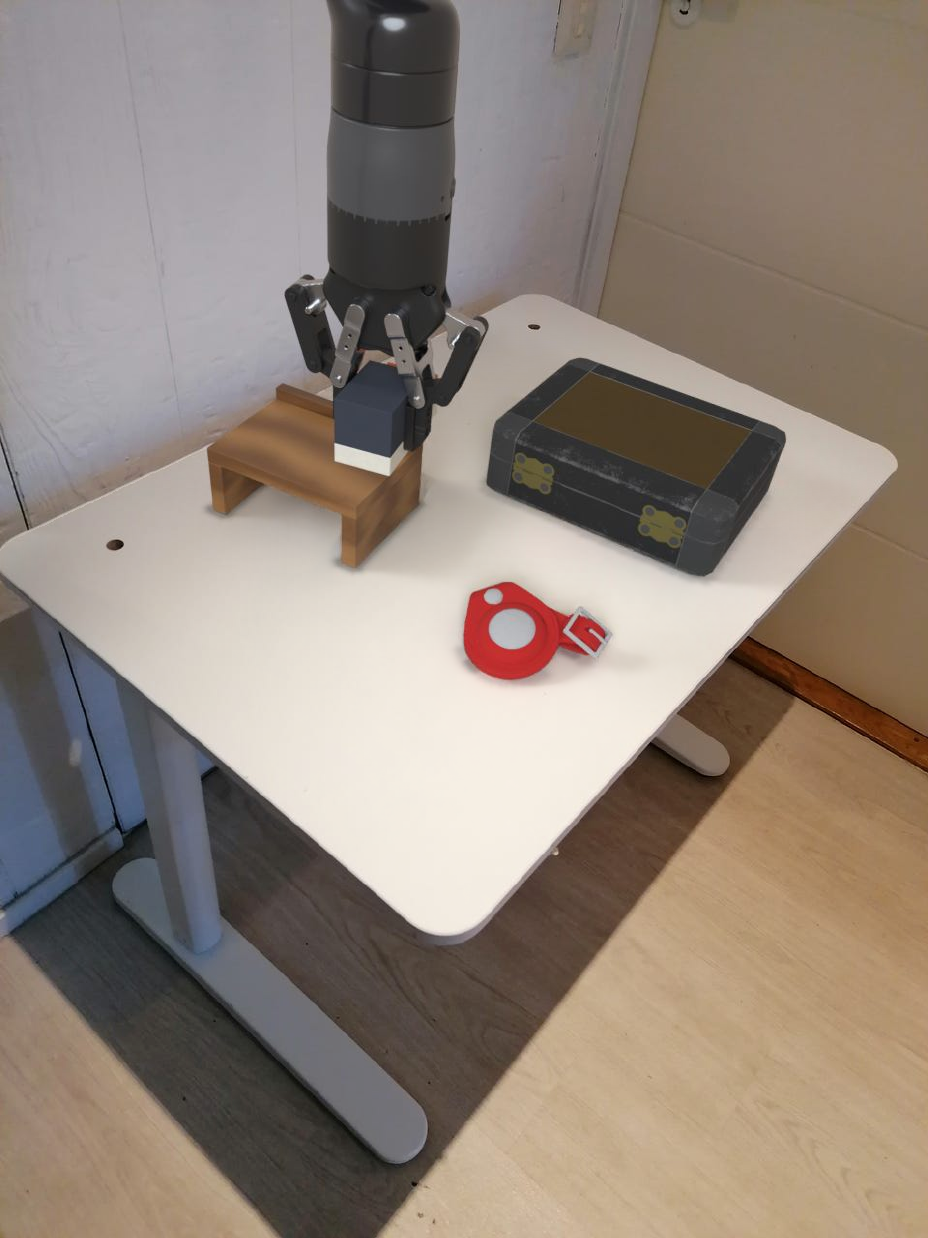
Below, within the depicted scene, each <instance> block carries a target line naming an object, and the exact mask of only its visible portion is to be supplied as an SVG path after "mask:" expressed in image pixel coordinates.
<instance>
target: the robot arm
mask: <svg viewBox="0 0 928 1238" xmlns="http://www.w3.org/2000/svg"><path fill="white" fill-rule="evenodd" d="M325 3H326V7H327V12H328V17H329V21H330V115H329V125H328V132H327V141H326V143H327V144H326V239H327V240H326V241H327V242H326V243H327V245H326V247H327V255H326V256H327V263H328V266H329V267H328V271H327V273H326V274H325V276H324V278H317V279H316V278H315V277H314V276H313V275H312V274H310V273H309V274H308V273H307V274H303V275H302V276H301V277H300V278H299V279H297V280H296V281H295V282H293V283H292V284H291V285H290V286H289V287H287V288H286V289H285V291H284V294H283V295H284V299H285V302H286V306H287V310H288V313H289V315H290V318H291V319H290V320H291V322H292V325H293V328H294V331H295V335H296V339H297V340H298V344H299V348H300V351H301V354H302V357H303V360H304V363H305V366H306V369H307V370H308V371H309V372H311V373H312V374H319V373H321V374H322V375H324V376H326V378H328V379H329V381H330V383H331V385H332V401H333V418H334V398H335V397H336V396H337V395H338V394H339V393H340V392H341V391H342V390H343V388H344V387H345V386H346V385H347V384H348V383H349V382H350V381H351V380H352V379H353V378H354V377H355V376H356V374H357V373H358V372H359V371H360V370H361V366H362V364H363V360H364V357H365V354H366V352H367V351H380V352H382V353H383V354H385V355H387V356H389V357H392V358H394V363H395V364H396V366H397V370H398V374H399V376H400V377H402V378H403V380H404V384H405V389H406V393H407V397H408V401H409V402H408V404H407V405H406V406H405V424H404V441H403V442H404V443H403V449H404V450H407V451H411V452H414V451H415V449H416V448H417V447H418V446H421V445H422V444H423V445H424V442H425V441H426V440H427V439H428V437H429V435H430V433H431V432H432V421H433V419H432V408H433V404H437V405H438V406H439V407H441V408H445V407H447V406H449V405H450V404H451V403H452V401H453V399H454V397H455V396H456V394H457V393H458V392H459V391H460V390H461V388H462V387H463V384H464V383H465V381H466V379H467V377H468V374H469V372H470V369H471V367H472V366H473V364H474V361H475V359H476V357H477V355H478V352H479V351H480V348H481V346H482V344H483V342H484V339H485V337H486V335H487V333H488V331H489V329H490V324H489V322H488V320H487V319H486V318H485V316H482V315H477V316H474V317H473V318H470V317H469V316H467V315H465V314H463V313H462V312H460V311H458V310H456V309H454V308H453V307H452V300H451V298H450V295H449V293H448V289H447V273H448V262H449V250H450V237H451V224H452V223H451V222H452V212H453V199H454V198H455V193H456V181H457V180H456V177H455V171H456V137H455V114H456V113H455V112H456V103H457V100H456V99H457V86H458V76H459V75H458V74H459V60H460V45H461V44H460V41H461V24H460V23H461V22H460V16H459V12H458V8H457V7H456V5H455V4H454V3H453V1H452V0H325ZM327 305H329V307H330V308H331V310H332V311H333V313H334V315H335V316H336V318H337V320H338V322H339V323H340V325H341V326H342V329H341V332H340V336H339V339H338V341H337V346H336V344H335V341H334V338H333V337H334V336H333V334H332V330H331V327H330V323H329V320H328V316H327V313H326V310H325V309H326V308H327ZM441 326H443V327H444V329H445V330H446V334H447V335H446V343H447V348H448V349H449V350H451V351H452V352H451V355H450V357H449V358H448V361H447V363H446V366H445V368H444V370H443V372H442V375H441V377H438V378H436V377H435V374H436V372H435V368H434V363H433V360H434V348H433V344H432V343H433V342H432V339H431V336H433V334H434V333H435V332H436V331H437V330H438V329H439V328H440V327H441ZM431 419H432V420H431Z"/></svg>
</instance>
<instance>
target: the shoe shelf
mask: <svg viewBox="0 0 928 1238" xmlns="http://www.w3.org/2000/svg"><path fill="white" fill-rule="evenodd" d="M423 452H424V443H423V444H422V445H421V446H418V447H417V448H416V449H415V451H414V452H411V451H408V452H407V453H406V455H405V456H404V458H403V459H402V460H401V462H400V463H399V464H398V466H397V467H396V468H395V470H394V471H393V472H392V474H391V475H390V476H386V475H383V474H379V473H375V472H372V471H368V470H365V469H361V468H357V467H354V466H350V465H347V464H343V463H339V462H336V461H335V443H334V418H333V400H331V399H328V398H325V397H323V396H320V395H318V394H317V395H316V394H314V393H311V392H310V391H309V392H308V391H306V390H303V389H301V388H298V387H296V386H292V385H289V384H287V383H284V382H282V383H280V384H279V385H277V386H276V387H275V399H273V400H272V401H270V402H269V403H267V405H265V406H263V407H262V408H260V410H258V411H257V412H255V413H254V414H252V415H251V416H250V417H248V418H247V419H245V420H243V421H242V422H241V423H240V424H238V425H237V426H235V427H234V428H232V429H231V430H230V431H228V432H226V433H225V434H224V435H222V436H221V437H219V438H218V439H217V440H215V441H214V442H213V443H212V444H210V445H208V446H207V447H206V455H207V463H208V464H207V465H208V473H209V474H208V475H209V482H210V492H211V493H210V494H211V502H212V503H211V504H212V511H215V512H218V513H220V514H223V515H227V514H228V513H230V512H231V511H232V510H234V508H236V507H237V506H238V505H240V504H241V503H242V502H243V501H245V500H246V499H247V498H249V496H251V495H252V494H253V493H255V492H257V490H258V489H259V488H261V487H262V486H264V485H266V486H269V487H272V488H274V489H276V490H279V491H281V492H284V493H287V494H289V495H292V496H294V497H297V498H300V499H302V500H304V501H307V502H309V503H311V504H314V505H317V506H319V507H322V508H324V509H327V510H329V511H332V512H334V513H337V514H339V515H341V560H340V561H341V564H343V565H345V566H347V567H350V568H352V569H357V567H358V566H359V565H360V564H361V563H363V561H364V560H365V559H366V558H367V557H368V556H369V555H371V554H372V552H373V551H374V550H375V549H376V548H378V546H379V545H381V543H382V542H383V541H384V540H385V539H386V538H387V537H388V536H389V535H390V534H391V533H392V532H393V531H394V530H395V529H396V528H397V527H398V526H399V525H400V524H401V523H402V522H403V521H404V520H405V519H406V518H407V517H408V516H409V515H410V514H411V513H412V512H413V511H414V510H415V509H416V508H417V507H419V505H420V495H421V479H422V469H423V468H422V467H423Z"/></svg>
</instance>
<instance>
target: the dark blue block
mask: <svg viewBox="0 0 928 1238" xmlns="http://www.w3.org/2000/svg"><path fill="white" fill-rule="evenodd" d="M435 377H436V378H439V375H438V374H437V373H435ZM408 402H409V401H408V397H407V393H406V389H405V384H404V380H403V378H402V377H400V376H399V374H398V370H397V366H396V363H394V362H390V361H388V362H387V363H383V362H378V361H375V360H372V359H369V360H368V361H367V362H366V363H365V365H364V366H363V367H362V368H360V369H359V371H358V372H357V374H356V376H355V377H354V378H353V379H352V380H351V381H350V382H349V383H348V384H347V385H346V386H345V387H344V388H343V390H342V391H341V392H340V393H339V394H338V395H337V396H336V397H335V398H334V443H335V461H336V462H339V463H343V464H347V465H350V466H354V467H357V468H361V469H365V470H368V471H372V472H375V473H379V474H383V475H386V476H390V475H391V474H392V472H393V471H394V470H395V468H396V467H397V466H398V464H399V463H400V462H401V460H402V459H403V458H404V456H405V455H406V453H407V452H408V451H407V450H404V449H403V443H404V442H403V441H404V424H405V406H406V405H407V404H408ZM438 406H439V405H437V404H433V408H432V419H431V420H432V421H433V419H434V417H435V416H436V415H437V413H438V408H439V407H438Z"/></svg>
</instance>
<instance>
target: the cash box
mask: <svg viewBox="0 0 928 1238" xmlns="http://www.w3.org/2000/svg"><path fill="white" fill-rule="evenodd" d="M786 443H787V436H786V432H785V431H784V430H782V429H781V428H779V427H777V426H776V425H773V424H771V423H768V422H765V421H762V420H759V419H756V418H755V417H751V416H749V415H745V414H743V413H740V412H737V411H735V410H731V409H729V408H726V407H723V406H721V405H718V404H715V403H713V402H710V401H707V400H704V399H701V398H698V397H696V396H693V395H690V394H687V393H684V392H682V391H679V390H676V389H673V388H670V387H668V386H665V385H663V384H659V383H656V382H654V381H652V380H649V379H645V378H642V377H640V376H636V375H634V374H631V373H628V372H625V371H623V370H621V369H617V368H615V367H612V366H609V365H606V364H603V363H601V362H598V361H596V360H592V359H589V358H586V357H575V358H572V359H569V360H568V361H566V362H565V363H564V364H563V365H562V366H561V367H559V368H558V369H557V370H556V371H554V372H553V373H552V374H551V375H550V376H548V377H547V378H545V380H544V381H543V382H541V383H540V384H539V385H537V386H536V387H535V388H533V390H531V391H530V392H529V393H527V394H526V395H525V396H524V397H522V398H521V399H520V400H519V401H517V403H515V404H514V405H513V406H512V407H510V409H508V410H507V411H506V412H504V414H502V415H501V416H500V417H499V418H497V419H496V420H495V422H494V425H493V428H492V435H491V443H490V450H489V459H488V466H487V473H486V481H485V482H486V486H488V487H489V488H490V489H491V490H492V491H494V492H496V493H498V494H501V495H503V496H505V497H507V498H510V499H512V500H514V501H517V502H519V503H521V504H524V505H526V506H529V507H531V508H533V509H536V510H538V511H541V512H543V513H545V514H548V515H550V516H552V517H555V518H556V519H557V518H558V519H559V520H562V521H563V522H566V523H569V524H571V525H574V526H576V527H578V528H581V529H583V530H586V531H588V532H589V533H592V534H594V535H597V536H600V537H602V538H605V539H607V540H609V541H611V542H614V543H616V544H618V545H621V546H623V547H625V548H628V549H630V550H633V551H635V552H637V553H640V554H642V555H644V556H647V557H649V558H651V559H654V560H656V561H658V562H661V563H663V564H666V565H668V566H670V567H673V568H675V569H678V570H680V571H682V572H684V573H687V574H689V575H692V576H698V577H705V576H707V575H710V574H712V573H713V572H714V571H715V570H716V569H717V567H718V565H719V563H720V562H721V561H722V559H723V557H724V556H725V555H726V554H727V552H728V551H729V549H730V547H731V546H732V545H733V543H734V542H735V540H736V539H737V537H738V536H739V534H740V533H741V532H742V530H743V528H744V527H745V525H747V523H748V521H749V520H750V519H751V517H752V515H753V514H754V512H755V511H756V509H757V508H758V506H759V505H760V504H761V502H762V500H763V499H764V497H765V496H766V495H767V494H768V492H769V489H770V487H771V484H772V481H773V479H774V475H775V473H776V470H777V467H778V465H779V462H780V459H781V456H782V453H783V451H784V448H785V445H786Z"/></svg>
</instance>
